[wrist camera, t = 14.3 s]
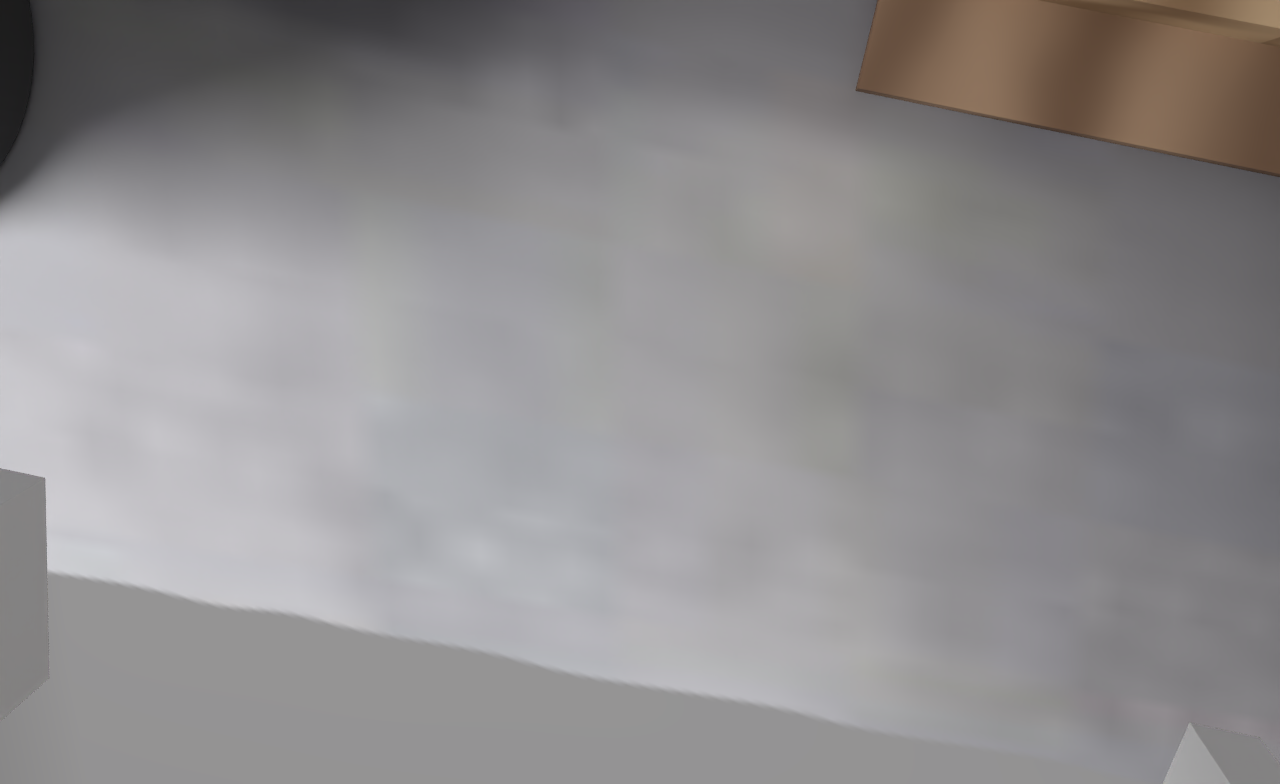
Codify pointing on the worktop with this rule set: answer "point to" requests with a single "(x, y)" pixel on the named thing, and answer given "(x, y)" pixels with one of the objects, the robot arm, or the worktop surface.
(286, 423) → the worktop surface
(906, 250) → the worktop surface
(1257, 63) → the socket board
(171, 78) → the worktop surface
